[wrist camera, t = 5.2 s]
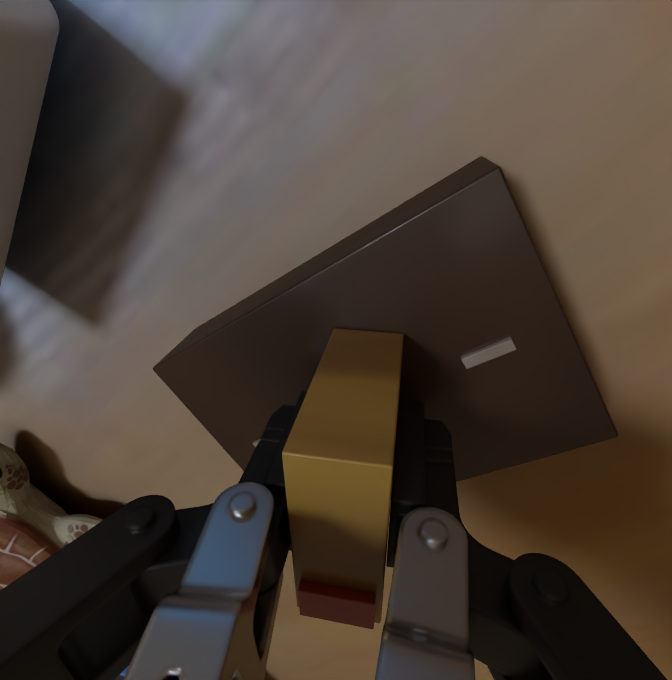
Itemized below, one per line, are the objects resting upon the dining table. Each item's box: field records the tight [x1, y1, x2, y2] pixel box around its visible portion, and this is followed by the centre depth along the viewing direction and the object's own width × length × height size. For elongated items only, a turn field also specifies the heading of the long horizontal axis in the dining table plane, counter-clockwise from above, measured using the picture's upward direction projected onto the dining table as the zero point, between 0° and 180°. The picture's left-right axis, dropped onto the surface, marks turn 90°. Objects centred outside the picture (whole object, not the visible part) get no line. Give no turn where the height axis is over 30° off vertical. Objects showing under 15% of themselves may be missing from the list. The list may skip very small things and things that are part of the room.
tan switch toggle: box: [282, 328, 404, 629], centre depth 10 cm, size 5×2×5 cm, turn 1°
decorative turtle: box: [0, 443, 103, 590], centre depth 23 cm, size 18×17×5 cm
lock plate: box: [153, 156, 618, 494], centre depth 14 cm, size 12×8×3 cm
